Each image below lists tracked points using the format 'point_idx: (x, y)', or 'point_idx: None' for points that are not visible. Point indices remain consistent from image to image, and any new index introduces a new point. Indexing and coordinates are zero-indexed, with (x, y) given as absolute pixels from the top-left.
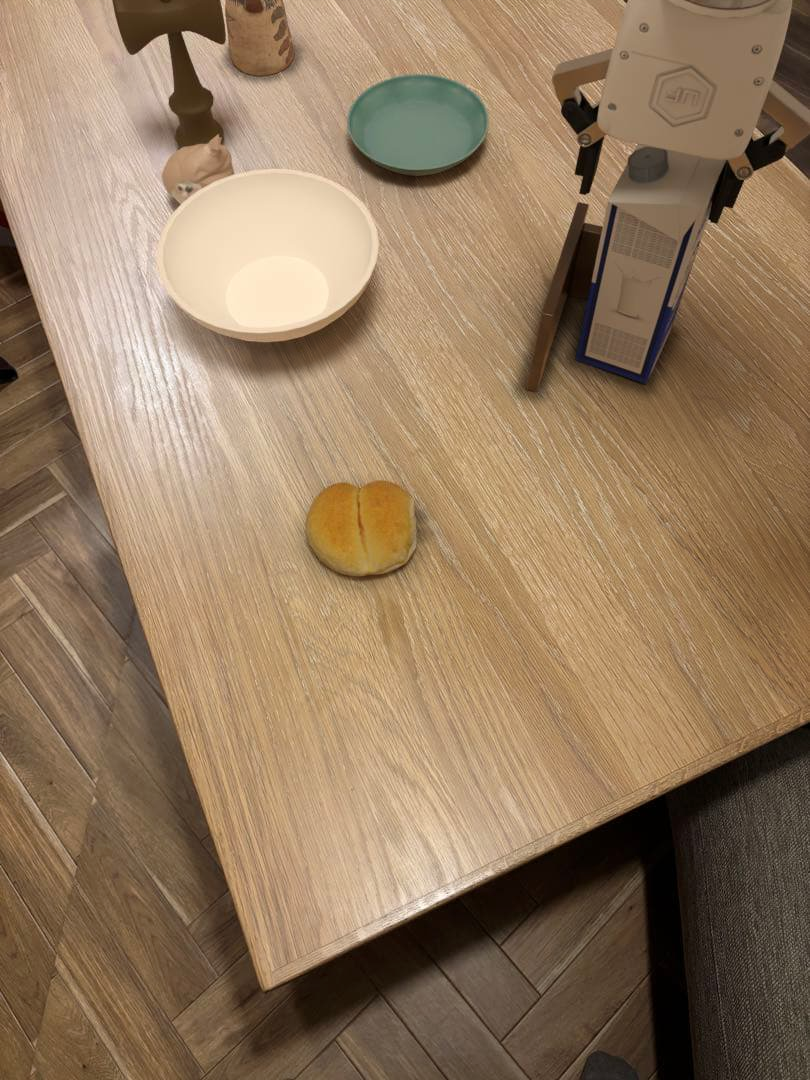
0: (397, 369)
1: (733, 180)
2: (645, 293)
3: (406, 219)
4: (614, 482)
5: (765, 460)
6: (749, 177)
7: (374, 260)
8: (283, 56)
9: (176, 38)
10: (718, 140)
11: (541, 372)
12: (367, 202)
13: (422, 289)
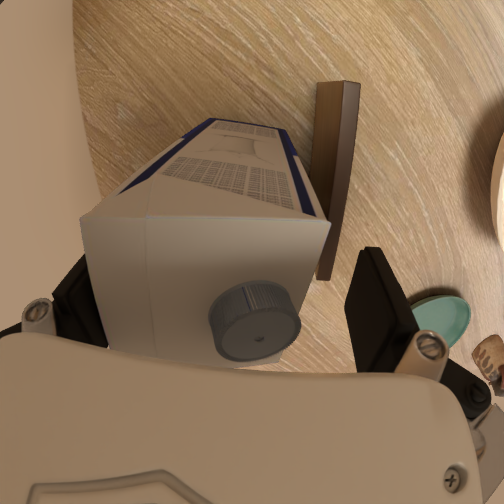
0: (443, 97)
1: (54, 295)
2: (217, 144)
3: (439, 258)
4: (219, 8)
5: (100, 84)
6: (31, 302)
7: (501, 180)
8: (482, 349)
9: None
10: (13, 389)
11: (321, 85)
12: (462, 266)
13: (432, 189)
